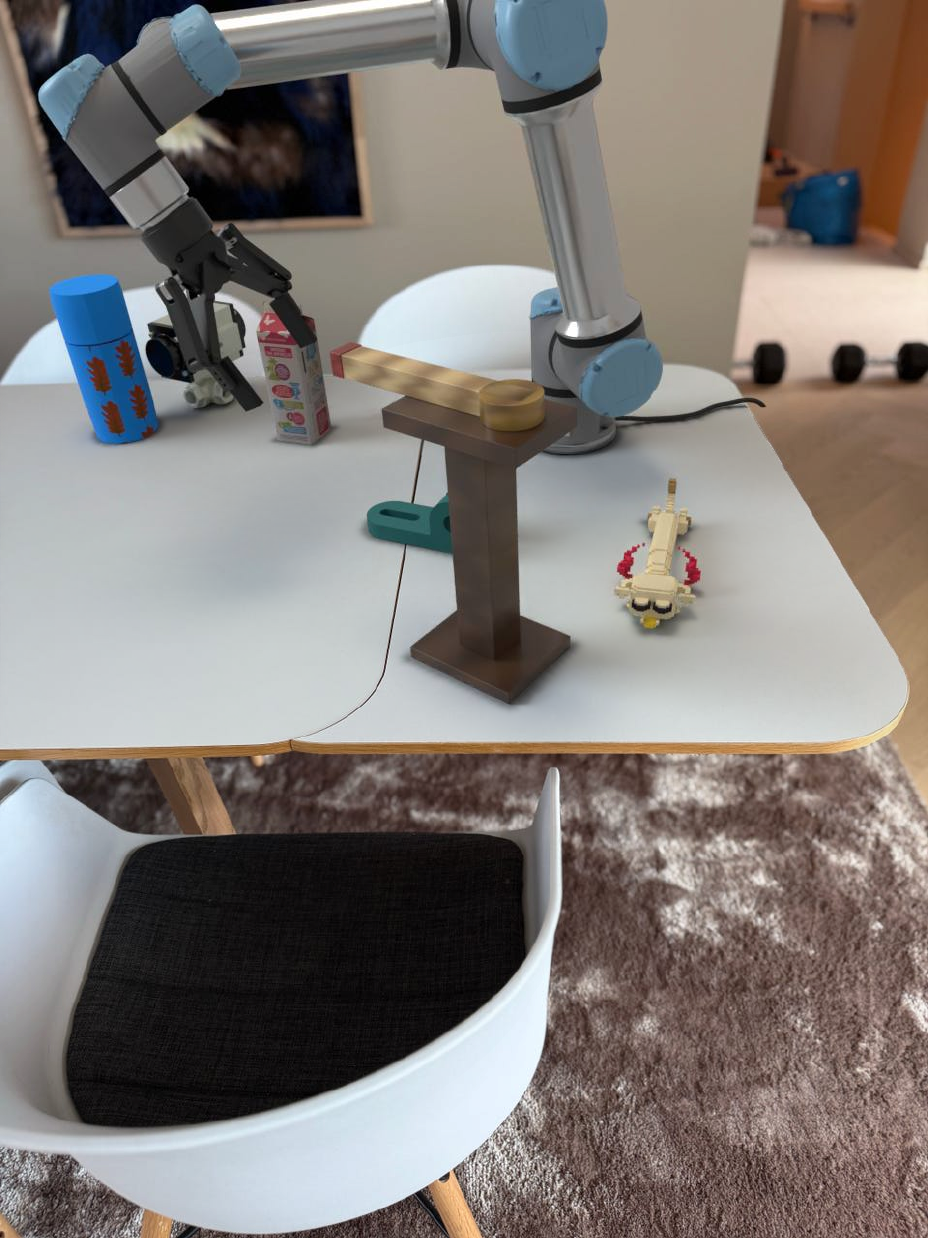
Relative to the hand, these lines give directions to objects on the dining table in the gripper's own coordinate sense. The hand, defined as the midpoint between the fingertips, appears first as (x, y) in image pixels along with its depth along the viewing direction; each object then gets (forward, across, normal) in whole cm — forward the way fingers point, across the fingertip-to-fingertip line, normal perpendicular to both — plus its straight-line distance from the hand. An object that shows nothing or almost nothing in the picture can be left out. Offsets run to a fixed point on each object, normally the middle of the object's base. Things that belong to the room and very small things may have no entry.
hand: (283, 374), depth 111 cm
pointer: (+4, +11, +27) cm, 29 cm away
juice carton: (+19, -24, -30) cm, 43 cm away
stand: (+32, +18, +20) cm, 42 cm away
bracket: (+29, -2, +2) cm, 29 cm away
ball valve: (+11, -32, -52) cm, 62 cm away
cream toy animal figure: (+42, -2, +31) cm, 53 cm away
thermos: (+5, -17, -58) cm, 61 cm away
